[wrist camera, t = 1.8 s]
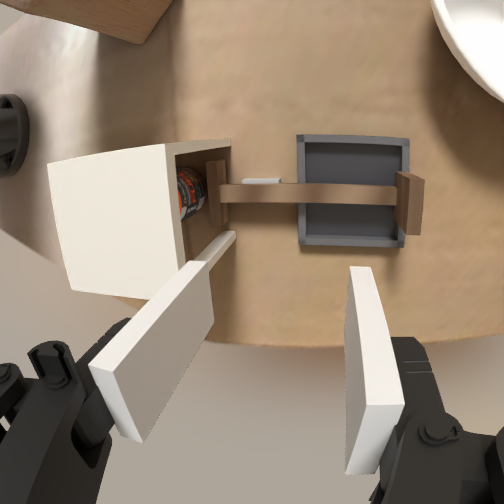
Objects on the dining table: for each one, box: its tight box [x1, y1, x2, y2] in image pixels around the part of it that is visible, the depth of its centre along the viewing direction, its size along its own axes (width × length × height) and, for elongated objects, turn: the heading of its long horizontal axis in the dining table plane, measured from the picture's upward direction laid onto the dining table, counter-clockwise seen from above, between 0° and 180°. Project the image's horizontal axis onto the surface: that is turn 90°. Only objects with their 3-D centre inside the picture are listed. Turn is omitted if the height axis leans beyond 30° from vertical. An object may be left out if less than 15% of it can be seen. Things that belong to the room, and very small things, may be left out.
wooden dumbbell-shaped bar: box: [206, 160, 425, 235], centre depth 31 cm, size 21×7×8 cm, turn 93°
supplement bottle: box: [176, 167, 207, 222], centre depth 33 cm, size 6×6×11 cm
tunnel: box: [47, 138, 281, 300], centre depth 30 cm, size 18×12×16 cm
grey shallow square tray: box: [297, 135, 409, 248], centre depth 33 cm, size 12×12×2 cm
